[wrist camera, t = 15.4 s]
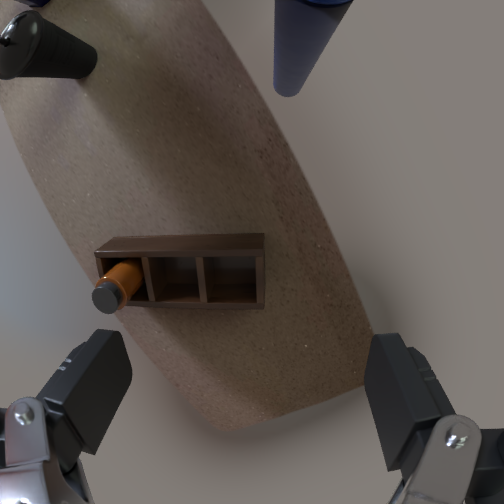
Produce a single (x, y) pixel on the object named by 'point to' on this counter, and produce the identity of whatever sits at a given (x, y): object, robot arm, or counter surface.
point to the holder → (193, 269)
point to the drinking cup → (42, 50)
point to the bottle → (34, 2)
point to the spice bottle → (118, 285)
